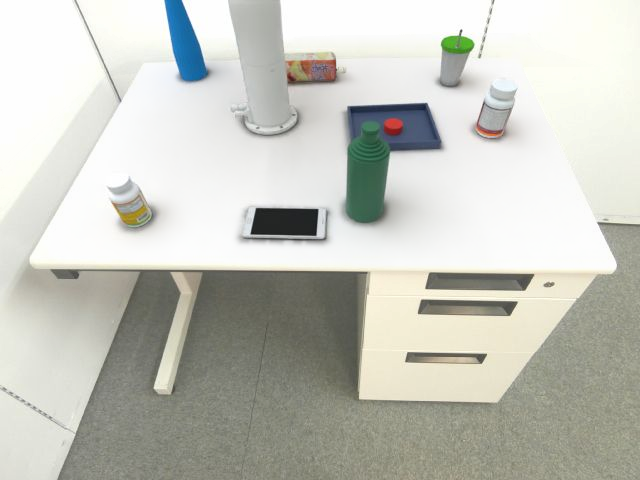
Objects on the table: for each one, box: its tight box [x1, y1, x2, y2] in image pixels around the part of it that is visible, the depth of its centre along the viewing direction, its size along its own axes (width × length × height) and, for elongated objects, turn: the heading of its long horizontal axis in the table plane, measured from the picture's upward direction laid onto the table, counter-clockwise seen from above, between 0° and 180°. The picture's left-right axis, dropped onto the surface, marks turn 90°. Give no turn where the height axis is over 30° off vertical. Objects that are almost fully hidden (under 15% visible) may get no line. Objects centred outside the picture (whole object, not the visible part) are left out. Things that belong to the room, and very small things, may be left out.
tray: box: [346, 102, 442, 152], centre depth 92 cm, size 19×15×2 cm
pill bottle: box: [475, 78, 519, 139], centre depth 87 cm, size 6×6×11 cm
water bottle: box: [345, 121, 391, 224], centre depth 69 cm, size 7×7×18 cm
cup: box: [439, 29, 476, 88], centre depth 100 cm, size 8×8×15 cm
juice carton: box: [284, 51, 337, 83], centre depth 106 cm, size 21×7×7 cm, turn 91°
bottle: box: [163, 0, 208, 82], centre depth 101 cm, size 7×7×30 cm
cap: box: [384, 118, 403, 135], centre depth 91 cm, size 4×4×2 cm
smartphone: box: [241, 206, 327, 240], centre depth 74 cm, size 8×1×15 cm
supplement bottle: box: [105, 171, 153, 228], centre depth 73 cm, size 5×5×10 cm
